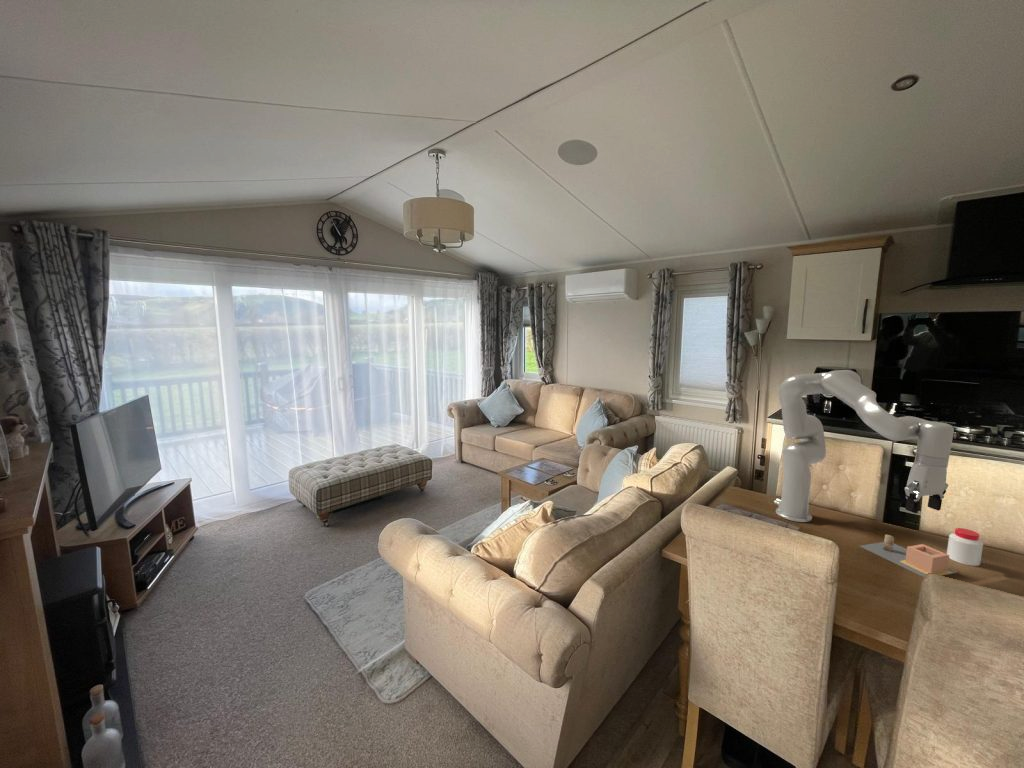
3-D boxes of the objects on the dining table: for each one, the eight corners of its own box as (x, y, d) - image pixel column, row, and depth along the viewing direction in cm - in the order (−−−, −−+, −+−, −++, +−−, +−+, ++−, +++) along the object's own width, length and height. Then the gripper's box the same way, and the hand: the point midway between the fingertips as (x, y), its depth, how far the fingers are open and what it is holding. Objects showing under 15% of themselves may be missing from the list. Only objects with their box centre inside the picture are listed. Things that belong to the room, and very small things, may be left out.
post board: (858, 549, 147) (860, 532, 147) (888, 544, 151) (890, 528, 150) (926, 581, 128) (928, 563, 127) (958, 575, 131) (960, 557, 131)
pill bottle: (974, 571, 134) (979, 539, 132) (941, 559, 140) (946, 529, 139) (983, 565, 137) (988, 534, 136) (950, 554, 144) (955, 524, 143)
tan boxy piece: (905, 562, 137) (907, 546, 136) (920, 559, 138) (922, 544, 137) (930, 574, 130) (933, 557, 129) (946, 571, 131) (949, 555, 131)
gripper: (936, 454, 138) (928, 502, 140) (897, 458, 134) (889, 507, 137) (965, 462, 131) (956, 512, 133) (925, 466, 127) (916, 518, 129)
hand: (922, 510), depth 135 cm, fingers open, 9 cm apart
